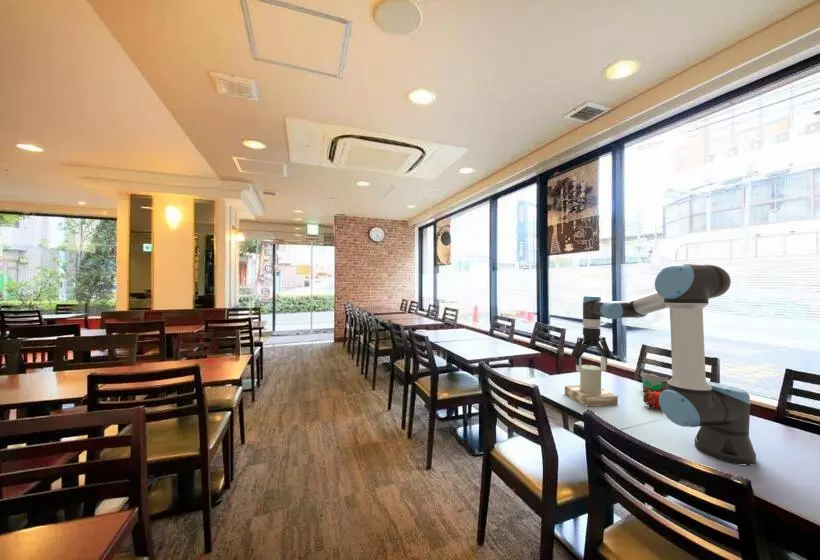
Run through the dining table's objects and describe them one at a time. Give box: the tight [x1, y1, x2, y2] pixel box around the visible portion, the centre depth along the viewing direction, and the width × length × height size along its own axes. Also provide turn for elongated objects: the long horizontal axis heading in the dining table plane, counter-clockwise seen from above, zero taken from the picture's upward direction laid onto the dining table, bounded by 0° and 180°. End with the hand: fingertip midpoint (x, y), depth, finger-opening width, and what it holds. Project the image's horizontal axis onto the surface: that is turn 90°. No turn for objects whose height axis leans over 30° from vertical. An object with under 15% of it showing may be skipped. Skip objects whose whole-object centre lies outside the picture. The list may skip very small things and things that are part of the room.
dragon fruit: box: [642, 391, 662, 410], centre depth 149 cm, size 8×8×12 cm
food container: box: [640, 370, 669, 393], centre depth 166 cm, size 12×6×10 cm, turn 25°
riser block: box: [564, 384, 619, 407], centre depth 159 cm, size 16×16×4 cm
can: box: [579, 364, 603, 394], centre depth 158 cm, size 9×9×12 cm
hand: (591, 371), depth 158 cm, fingers open, 13 cm apart
